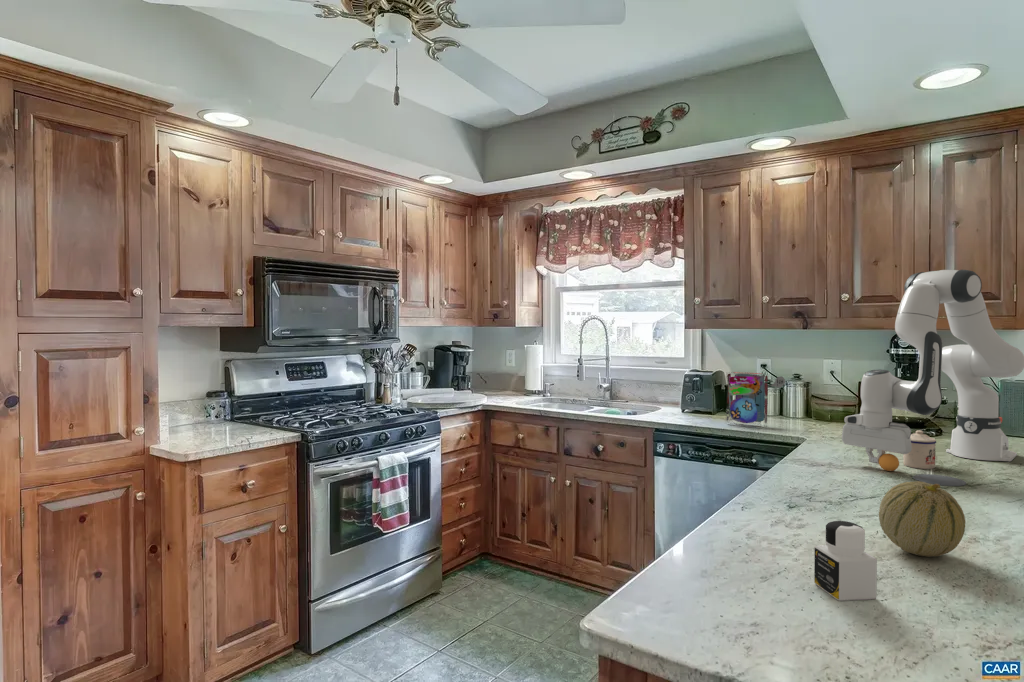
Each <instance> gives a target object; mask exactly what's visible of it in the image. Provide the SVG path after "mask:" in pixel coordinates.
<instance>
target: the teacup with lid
mask: <svg viewBox="0 0 1024 682" xmlns="http://www.w3.org/2000/svg"><path fill="white" fill-rule="evenodd" d="M910 438H911V448H912V450H911V452H909V453H907V454H902V455H903V456H902V457H903V461H902V462H903V465H904V466H905V467H909V468H913V469H919V470H920V469H921V470H933V469H935V468H936V444H937V440H936V439H935V438H933V437H930V436H929V435H927V434H924V431H923V430H920V429H919V430H916V431H915V433H911V436H910Z"/></svg>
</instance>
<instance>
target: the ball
mask: <svg viewBox="0 0 1024 682" xmlns="http://www.w3.org/2000/svg"><path fill="white" fill-rule="evenodd" d="M878 465H879V466H880V468H881V469H882V470H884V471H887V472H894V471H896V470H897V469H898V468H899V466H900V460H899V458H898V457H897V456H896V455H895V454H892V453H885V454H884V455H882V456H881V457H880V458H879V464H878Z"/></svg>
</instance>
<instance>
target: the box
mask: <svg viewBox="0 0 1024 682" xmlns="http://www.w3.org/2000/svg"><path fill="white" fill-rule="evenodd" d="M732 374H735V375H734V376H732ZM768 376H769V375H768V374H767V373H763V372H749V371H748V372H745V371H742V372H741V371H729V372H728V373H727V374H726V378H727V380H726V385H727V390H725V391H726V394H725V395H726V396H725V397H726V404H727V405H726V423H729V419H731V421H732V422H731V423H732V424H731V427H732V426H733V427H734V425H736V423H740V425H745V424H749V426H751V427H753V428H755V429H756V426H753V423H754V422H755V423H754V425H757V426H758V425H760V424H761V422H764V425H763V426H764V427H763V426H762V425H760V426H758V427H759V428H762V429H763V428H767V427H768V425H767V424H768V404H769V403H768V401H769V400H768V396H769V395H768V394H769V388H768V386H769V385H768V380H769V377H768ZM785 383H786V380H785V378H784V377H783V376H777V377H776V378H775V381H774V383H772V384H770V386H771V387H776V388H778V389H779V388H782V387H783V386H785ZM732 396H734V397H735V398H734V399H733V398H732ZM728 409H729V410H728ZM728 414H729V416H728ZM733 421H735V422H736V423H735V422H733ZM756 422H757V423H756ZM751 423H752V425H751ZM740 427H742V428H743V426H740Z"/></svg>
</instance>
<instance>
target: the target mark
mask: <svg viewBox="0 0 1024 682" xmlns="http://www.w3.org/2000/svg"><path fill="white" fill-rule="evenodd" d="M912 479H913V480H915V481H920V482H925V483H928V484H933V485H934V484H939V485H940V486H942V487H943V486H945V487H962V486H965V485H967V481H966V480H963V479H960V478H958V477H955V476H954V477H953V476H950V475H949V476H948V475H942V474H931V473H928V474H927V473H923V474H922V473H920V474H914V475H913V476H912Z"/></svg>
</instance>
